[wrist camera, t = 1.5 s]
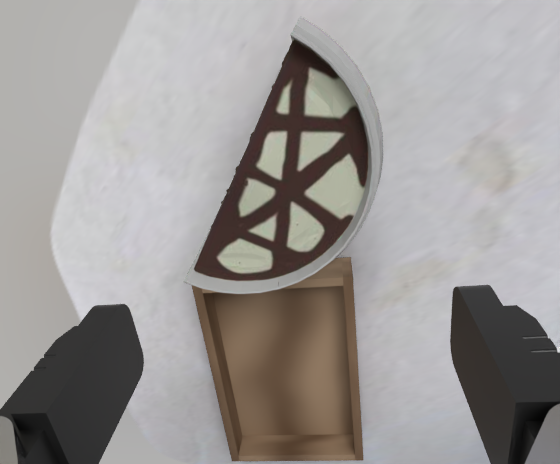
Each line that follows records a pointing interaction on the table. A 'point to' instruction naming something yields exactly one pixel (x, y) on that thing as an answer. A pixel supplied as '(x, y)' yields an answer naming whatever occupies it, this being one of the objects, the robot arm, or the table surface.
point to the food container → (297, 175)
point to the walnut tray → (287, 368)
